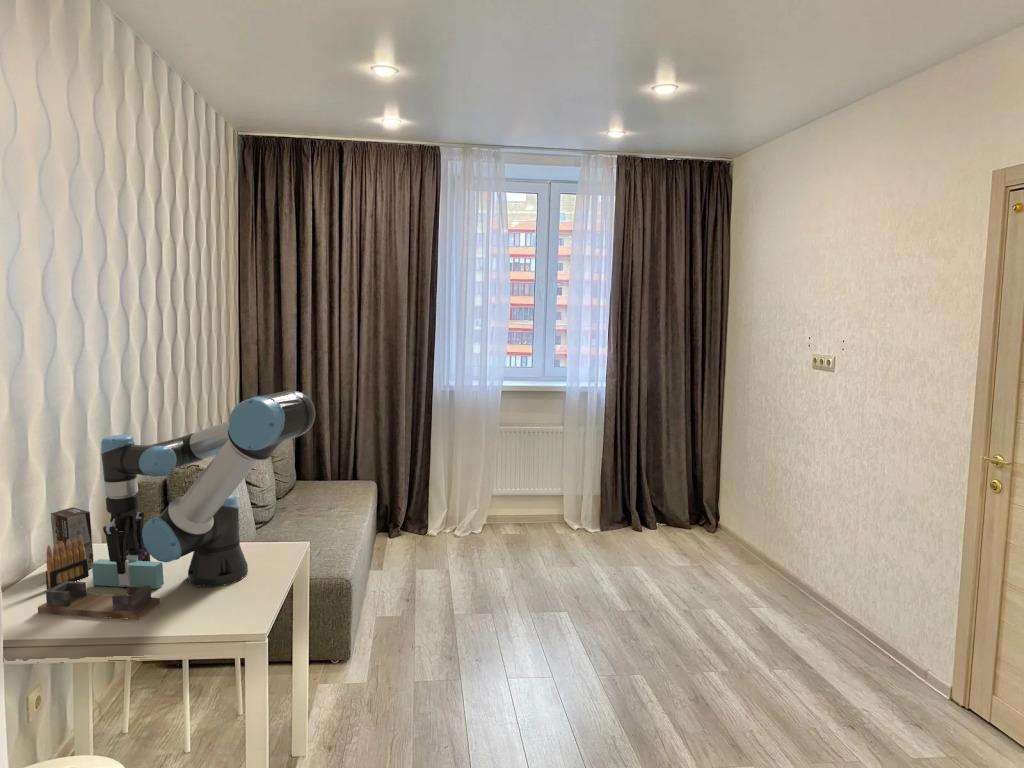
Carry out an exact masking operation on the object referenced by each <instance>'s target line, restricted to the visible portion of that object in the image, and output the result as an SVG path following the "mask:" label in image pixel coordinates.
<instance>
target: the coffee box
mask: <svg viewBox="0 0 1024 768" xmlns="http://www.w3.org/2000/svg"><path fill="white" fill-rule="evenodd" d="M50 521H51V522H50V523H51V530H52V531H51V532H52V542H53V545H54V544H55V543H56V544H57V547H58V551H59V556H60V542H61V541H62V542H63V544H64V547H65V553H66V541H67V539H69V541H70V544H71V550H72V540H73V537H75V538H76V541H77V546H78V540H79V535H81V536H82V538H83V543H84V548H85V556H86V559H87V564H88V570H89V569H92V563H93V562H95V561H94V550H93V549H94V548H93V538H92V537H93V536H92V524H91V523H92V522H91V512H90V511H87V510H84V509H80V508H77V507H68V508H64V509H62V510H58V511H55V512H51V513H50Z"/></svg>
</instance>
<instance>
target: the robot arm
mask: <svg viewBox="0 0 1024 768" xmlns="http://www.w3.org/2000/svg"><path fill="white" fill-rule="evenodd" d="M228 417H229V418H228V420H226V421H223V422H221V423H217V424H215V425H213V426H209V427H206V428H204V429H201V430H198V431H196V432H193V433H189V434H186V435H183V436H181V437H177V438H176V437H175V438H174V439H169V440H168V439H167V440H165V441H160V442H157V443H153V444H149V445H148V444H146V445H145V444H144V445H140V444H136V442H135V440H134V437H133V435H130V434H116V435H111V436H110V435H109V436H106V437H103V439H102V440H101V441H100V444H101V445H100V447H101V448H100V449H101V450H100V451H101V452H100V456H101V463H102V464H101V465H102V470H103V471H102V472H103V480H104V493H105V496H106V498H105V509H106V512H108V513H109V514H110V520H109V522H110V523H109V524H108V525H107V526H105V525H104V526H103V528H102V530H103V534H104V535H105V539H106V545H107V552H108V560H110V562H116V563H117V573H118V576H119V585H130V584H131V582H130V571H129V561H139V557H138V554H142V551H140V550H142V549H143V548H144V545H145V547H146V549H147V551H148V552H149V554H150V557H152V558H153V559H154V560H156V561H157V562H162V563H170V562H173V561H177V560H179V559H181V558H183V557H184V556H187V555H189V554H191V553H192V557H191V559H190V560H191V561H190V563H189V566H188V570H187V579H188V583H190V584H191V585H193V586H196V587H205V588H206V587H220V586H224V584H226V585H230V584H232V582H233V583H235V582H234V581H236V582H238V581H240V580H242V579H243V578H242V577H244V576H245V575H246V574H247V572H248V573H249V568H248V567H249V565H248V562H247V559H246V558H245V555H244V552H243V549H242V547H241V543H240V542H241V541H240V540H241V539H240V522H239V521H240V518H239V509H240V508H239V505H238V498H237V496H236V495H235V494H234V491H235V490H236V489H237V487H238V486H239V485H240V484H241V483H242V482H243V480H244V479H245V478H246V476H247V475H249V473H250V472H251V471H252V470H253V468H254V467H255V466H256V464H258V462H259V461H262V462H263V461H267V460H269V459H270V457H272V456H273V454H274V453H275V452H276V450H277V449H278V448H279V447H280V446H281V445H282V444H283V443H285V442H286V441H289V440H292V439H295V438H298V437H301V436H302V435H304V434H306V433H307V432H308V431H309V430H310V429H311V428H312V426H313V424H314V422H315V419H316V408H315V405H314V403H313V401H312V400H311V398H310V397H308V396H307V394H305V393H303V392H300V391H298V390H290V389H289V390H283V391H278V392H275V393H271V394H266V395H258V396H253V397H250V398H248V399H245V400H242V401H241V402H239V403H238V404H237V405H235V407H234V408H233V409H232V411H231V412H230V415H229V416H228ZM212 457H213V458H212ZM208 458H212V460H211V461H210V462H209V464H208V465H207V466H206V467H205V469H204V470H203V471H202V472H201V473H200V475H199V476H198V478H197V479H196V480H195V481H194V482H193V483H192V485H191V487H190V488H189V489H188V491H186V493H185V494H184V496H179V497H176V498H173V500H172V501H171V502H170V503H169V504H168V506H167V507H165V509H164V511H163V512H162V513H161V514H159V515H157V516H153V517H151V518H150V519H147V521H146V522H145V523H144V520H145V519H144V518H145V512H139V511H137V510H138V508H140V499H139V497H140V496H139V494H138V492H139V485H138V476H146V477H153V478H157V477H166V476H168V475H170V474H171V473H172V472H173V471H174V469H177V468H180V467H183V466H186V465H190V464H194V463H195V464H196V463H198V462H201V461H203V460H205V459H208ZM126 542H127V547H128V552H129V554H130V555H127V560H126ZM138 544H139V545H138ZM247 575H248V574H247ZM247 575H246V576H247ZM246 576H245V577H246ZM245 577H244V578H245ZM241 578H242V579H241ZM239 579H240V580H239ZM237 580H238V581H237ZM229 583H230V584H229Z"/></svg>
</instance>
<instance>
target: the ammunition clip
mask: <svg viewBox="0 0 1024 768" xmlns="http://www.w3.org/2000/svg"><path fill="white" fill-rule="evenodd" d="M45 562H46V571H45V578H46V579H45V580H46V590H47V589H48V590H50V589H52V588H54V587H55V586H57V585H59V584H61V583H63V582H65V581H76V582H78V581H77V580H79V581H81V580H83V578H84V579H86V577H87V578H89V577H90V575H89V569H88V564H87V559H86V556H85V548H84V543H83V538H82V536H81V535H79V540H78V546H77V541H76V538H75V537H73V540H72V550H71V544H70V541H69V539H67V541H66V553H65V547H64V544H63V542H62V541H61V542H60V556H59V551H58V547H57V544H56V543H55V544H53V549H52V547H51V546H50V544H48V545H47V548H46V561H45ZM88 576H89V577H88ZM80 579H81V580H80ZM48 590H47V591H48Z"/></svg>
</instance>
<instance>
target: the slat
mask: <svg viewBox="0 0 1024 768" xmlns="http://www.w3.org/2000/svg"><path fill="white" fill-rule="evenodd" d="M163 568H164V567H163V562H161V561H150V562H149V561H129V571H130V582H131V584H130V585H140V586H151V589H154V590H155V589H158V588H161V586H163V585H164V583H165V581H164V572H163V571H164V569H163ZM91 570H92V580H93V581H92V583H93V586H100V587H101V586H103V587H118V588H119V587H122V588H124V587H125V588H127V586H129V585H119V576H118V573H117V563H116V562H110V559H109V558H108V559H107V558H105V559H104V558H103V559H102V558H99V559H97V560H95V561H94V562H93V563H92V568H91Z"/></svg>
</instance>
